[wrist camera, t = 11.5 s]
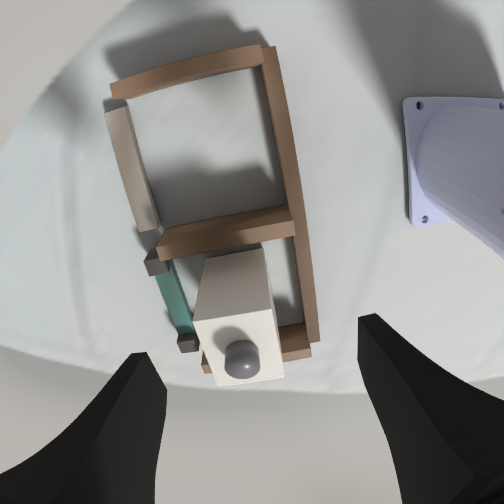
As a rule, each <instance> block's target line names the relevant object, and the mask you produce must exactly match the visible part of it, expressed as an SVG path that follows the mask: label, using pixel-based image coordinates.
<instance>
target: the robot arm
mask: <svg viewBox="0 0 504 504" xmlns="http://www.w3.org/2000/svg"><path fill="white" fill-rule="evenodd" d="M417 102H419V103H420V108H419V109H417V107H416V103H417ZM499 104H500V108H499ZM402 107H403V116H404V125H405V135H406V147H407V161H408V181H409V221H410V224H411V225H412V226H413V227H415V228H420V227H425V226H430V225H435V224H440V223H445V222H450V221H455V222H456V223H458V224H459V225H460V226H462V227H463V228H465V229H466V230H467V231H469V232H470V233H471V234H473V235H474V236H475V237H477V238H478V239H479V240H481V241H482V242H483V243H484V244H486V245H487V246H488V247H490V248H491V249H492V250H493V251H495V252H496V253H497V254H498V255H500V256H501V257H502V258H503V259H504V99H493V98H475V97H408V98H405V99H404V101H403V103H402ZM423 216H426V217H425V220H424V221H422V218H423ZM357 360H358V364H359V367H360V371H361V374H362V378H363V381H364V384H365V387H366V389H367V392H368V394H369V397H370V399H371V401H372V404H373V406H374V408H375V411H376V413H377V416H378V418H379V420H380V423H381V425H382V428H383V430H384V433H385V435H386V438H387V441H388V444H389V447H390V450H391V454H392V458H393V462H394V465H395V470H396V474H397V479H398V483H399V488H400V493H401V498H402V504H504V400H501V399H499V398H497V397H494V396H492V395H490V394H488V393H485V392H484V391H481V390H479V389H477V388H475V387H473V386H471V385H469V384H468V383H466V382H464V381H462V380H461V379H459V378H457V377H456V376H454V375H452V374H451V373H449V372H448V371H446V370H445V369H443V368H442V367H440V366H439V365H437V364H436V363H435V362H433V361H432V360H431V359H429V358H428V357H427V356H425V355H424V354H423V353H421V352H420V351H419V350H418V349H416V348H415V347H414V346H413V345H412V344H410V343H409V342H408V341H407V340H406V339H404V338H403V337H402V336H401V335H400V334H399V333H397V332H396V331H395V330H394V329H393V328H392V327H391V326H390V325H388V324H387V323H386V322H385V321H384V320H383V319H382V318H381V317H380V316H379V315H377V314H376V313H374V314H370V315H365V316H361V317H358V358H357ZM166 404H167V389H166V387H165V385H164V383H163V382H162V380H161V378H160V376H159V374H158V373H157V371H156V369H155V367H154V365H153V363H152V362H151V360H150V358H149V356H148V354H147V352H142V353H131V354H130V356H129V357H128V358H127V359H126V360H125V361H124V363H123V364H122V365H121V366H120V367H119V369H118V370H117V371H116V372H115V374H114V375H113V376H112V377H111V379H110V380H109V381H108V382H107V384H106V385H105V386H104V387H103V389H102V390H101V391H100V392H99V393H98V395H97V396H96V397H95V398H94V399H93V400H92V401H91V403H90V404H89V405H88V406H87V407H86V408H85V409H84V411H83V412H82V413H81V414H80V415H79V416H78V417H77V418H76V419H75V420H74V421H73V422H72V423H71V424H70V425H69V426H68V427H67V428H66V429H65V430H64V431H63V432H62V433H61V434H60V435H58V436H57V437H56V438H55V439H54V440H52V441H51V442H50V443H49V444H47V445H46V446H45V447H44V448H42V449H41V450H40V451H39V452H37V453H36V454H34V455H33V456H31V457H30V458H28V459H27V460H25V461H23V462H22V463H20V464H18V465H17V466H15V467H13V468H11V469H9V470H7V471H5V472H3V473H1V474H0V504H155V501H154V500H155V499H154V498H155V474H156V466H157V460H158V454H159V449H160V444H161V438H162V433H163V428H164V422H165V416H166Z"/></svg>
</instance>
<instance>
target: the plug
mask: <svg viewBox="0 0 504 504" xmlns="http://www.w3.org/2000/svg"><path fill="white" fill-rule="evenodd" d="M192 322H193V325H194V327H195V330H196V333H197V335H198V338H199V340H200V343H201V345H202V348H203V350H204V353H205V355H206V358H207V360H208V363H209V365H210V368H211V370H212V373H213V375H214V377H215V380H216V382H217V385H218V387H221V386H229V385H237V384H245V383H252V382H258V381H265V380H271V379H277V378H283V377H285V372H284V365H283V358H282V351H281V345H280V338H279V331H278V324H277V317H276V311H275V305H274V300H273V295H272V290H271V285H270V280H269V275H268V270H267V264H266V259H265V254H264V249H263V248H260V249H255V250H250V251H244V252H239V253H234V254H229V255H223V256H218V257H213V258H207V259H205V262H204V267H203V271H202V276H201V281H200V286H199V291H198V296H197V301H196V306H195V311H194V316H193V321H192Z"/></svg>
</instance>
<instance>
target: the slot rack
mask: <svg viewBox="0 0 504 504" xmlns="http://www.w3.org/2000/svg"><path fill="white" fill-rule="evenodd" d="M260 66H261V71H262V75H263V80H264V85H265V90H266V95H267V100H268V105H269V110H270V115H271V120H272V125H273V130H274V136H275V141H276V146H277V152H278V157H279V163H280V168H281V174H282V180H283V185H284V191H285V197H286V203H287V205H281V206H276V207H270V208H265V209H260V210H255V211H250V212H245V213H239V214H234V215H229V216H225V217H220V218H215V219H210V220H205V221H200V222H196V223H191V224H186V225H181V226H177V227H172V228H168V229H165V231H164V233H163V235H162V237H161V239H160V240H159V242H158V244H157V246H156V249H154V250H150V251H149V252H148V254H147V256H146V258H145V260H144V264H145V266H146V269H147V271H148V274H149V276H154V275H155V277H156V280H157V283H158V285H159V288H160V290H161V293H162V296H163V298H164V301H165V303H166V306H167V308H168V311H169V313H170V316H171V318H172V320H173V323H174V325H175V328H176V330H177V332H178V339H177V344H178V346H179V349H180V351H181V353H187V352H196V351H199V344H200V340H199V338H198V335H197V333H196V330H195V327H194V325H193V322H192V321H193V317H192V314H191V311H190V308H189V306H188V303H187V300H186V297H185V295H184V292H183V289H182V286H181V283H180V280H179V278H178V275H177V272H176V269H175V266H174V263H173V260H172V259H175V258H180V257H185V256H190V255H195V254H200V253H206V252H211V251H216V250H221V249H226V248H232V247H237V246H242V245H247V244H252V243H258V242H263V241H268V240H274V239H279V238H284V237H289V236H292V240H293V247H294V253H295V260H296V266H297V273H298V280H299V287H300V294H301V301H302V309H303V316H304V324H299V325H294V326H289V327H283V328H278V331H279V338H280V345H281V351H282V358H283V362H287V361H293V360H298V359H303V358H309V357H312V355H311V347H310V343H313V342H318V341H320V334H319V323H318V313H317V304H316V294H315V285H314V277H313V268H312V260H311V252H310V244H309V236H308V229H307V222H306V215H305V208H304V201H303V194H302V187H301V181H300V175H299V168H298V162H297V156H296V150H295V144H294V139H293V133H292V127H291V122H290V116H289V111H288V106H287V100H286V95H285V90H284V85H283V80H282V75H281V70H280V65H279V61H278V56H277V51H276V47H275V46H272V47H265V48H261V45H260V44H256V45H251V46H245V47H239V48H234V49H229V50H224V51H219V52H215V53H210V54H206V55H202V56H198V57H194V58H190V59H186V60H182V61H178V62H175V63H171V64H168V65H164V66H161V67H158V68H154V69H151V70H148V71H145V72H142V73H139V74H136V75H133V76H130V77H127V78H124V79H122V80H119V81H116V82H113V83H111V84H110V88H111V92H112V97H113V99H132V98H135V97H138V96H141V95H144V94H147V93H150V92H153V91H157V90H160V89H163V88H167V87H170V86H174V85H178V84H181V83H185V82H189V81H193V80H197V79H201V78H205V77H209V76H214V75H218V74H223V73H228V72H232V71H238V70H243V69H248V68H254V67H260ZM105 117H106V121H107V125H108V129H109V133H110V137H111V141H112V145H113V148H114V152H115V155H116V159H117V163H118V166H119V170H120V173H121V176H122V180H123V183H124V186H125V190H126V193H127V196H128V199H129V203H130V206H131V209H132V212H133V215H134V218H135V221H136V224H137V227H138V230H139V232H143V231H148V230H152V229H156V228H159V226H160V225H161V223H160V220H159V217H158V213H157V210H156V207H155V203H154V200H153V197H152V193H151V190H150V186H149V183H148V180H147V176H146V172H145V169H144V165H143V162H142V158H141V154H140V151H139V147H138V143H137V139H136V135H135V131H134V127H133V123H132V119H131V115H130V111H129V107H128V106H124V107H121V108H118V109H116V110H113V111H110V112H107V113H105ZM201 366H202V368H203V371H204V373H205V374H206V373H212V370H211V368H210V365H209V363H208V360H207V358H206V355H205V353H204V350H203V355H202V363H201Z"/></svg>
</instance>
